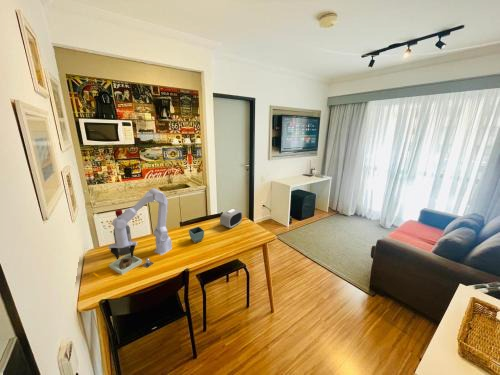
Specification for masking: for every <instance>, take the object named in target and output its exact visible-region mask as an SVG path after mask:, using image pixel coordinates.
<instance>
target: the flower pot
mask: <svg viewBox="0 0 500 375" xmlns="http://www.w3.org/2000/svg"><path fill="white" fill-rule="evenodd" d="M188 234H189V237H190V239H191V240H192V241H193V242H194V244H196V243H199V242H202V241H203V239H204V236H205V229H203V228H201V227H200V226H195V227H193V228H191V229H188Z"/></svg>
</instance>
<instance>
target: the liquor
mask: <svg viewBox="0 0 500 375" xmlns="http://www.w3.org/2000/svg"><path fill="white" fill-rule="evenodd" d="M122 213H123V210H122V209H115V216H116V218H117V217H118V216H120V215H121V214H122ZM126 231H127V237H128V241H131V242H133V241H132V234H131V227H130V226H129V225H128V224H127V226H126ZM112 233H113V238H114V239H113V240H114V244H115V243H117V242H116V236H115V230H114V229H113V232H112ZM129 248H130V246H128V247H124V248H118V253H119V256H122V257H123V256H126V255H127V254H129V253H130V250H129ZM130 254H131V253H130Z"/></svg>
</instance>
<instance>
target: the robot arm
mask: <svg viewBox="0 0 500 375" xmlns="http://www.w3.org/2000/svg"><path fill="white" fill-rule="evenodd" d="M154 202H157V203H158V211H157V224H156V226H155V227H154V231H153V236H154V237H155V247H156V249H155V250H153V252H154V253H155V254H158V255H160V256H163V255H165V254H166V253H168V252H169V251H171V250H172V249H173V246H172V245H173V244H172V239H171V237H170V236H169V234H168V229H167V226H166V225H167V216H168V204H169V200H168V199H167V196H166V194H165V193H164V192H162V191H160V190H159V189H157V188H153V187H152V188H151V189H149V190H148V191H147V192H145V194H144V195H143V196H142V197H141V198H140V199H139V201H137V203H135V204H134V205H133V206H132V207H128V208H125V210H124V211H123V212H122V214H121V215H120V216H118V217H117V216H116V217H115V218H114V219H113V220H112V222H111V225H112V226H113V231H114V230H115V236H116V242H117V243H115V242H114V243H112V244H108V246H107V248H108V250H110V253H111V254H112V255H114V257H115V258H116V260H118V259H120V255H119V253H118V248H124V247H128V246H130V248H129V250H130V254H131V257H133V255H134V251H135V247H137V246H138V241H132V242H131V241H128V237H127V231H126V226H127V225H128V223H129V222H130V221H131V220H133V218H135V217H136V216H137V215H138V214H137V213H138V211H140V209H142V208H143V207H144V206H145V205H147V204H148V203H154Z"/></svg>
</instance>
